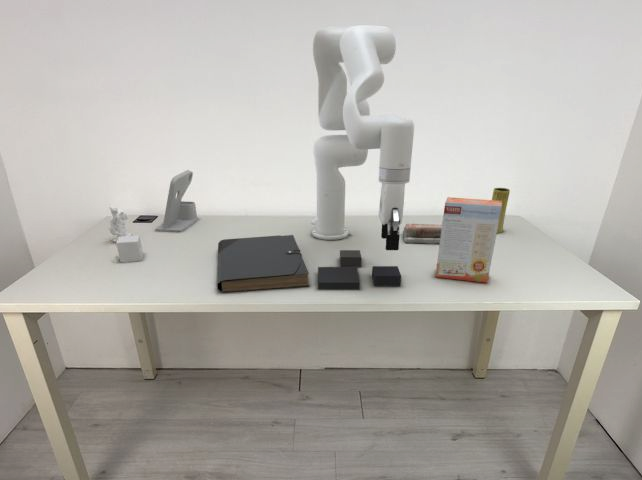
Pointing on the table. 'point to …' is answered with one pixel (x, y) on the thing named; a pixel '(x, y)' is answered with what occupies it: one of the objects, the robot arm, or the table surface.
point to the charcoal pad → (386, 276)
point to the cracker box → (468, 238)
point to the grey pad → (350, 258)
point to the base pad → (338, 278)
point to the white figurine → (118, 222)
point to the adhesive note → (129, 248)
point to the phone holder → (179, 205)
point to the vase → (503, 196)
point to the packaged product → (422, 233)
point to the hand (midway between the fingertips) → (389, 243)
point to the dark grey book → (260, 264)
